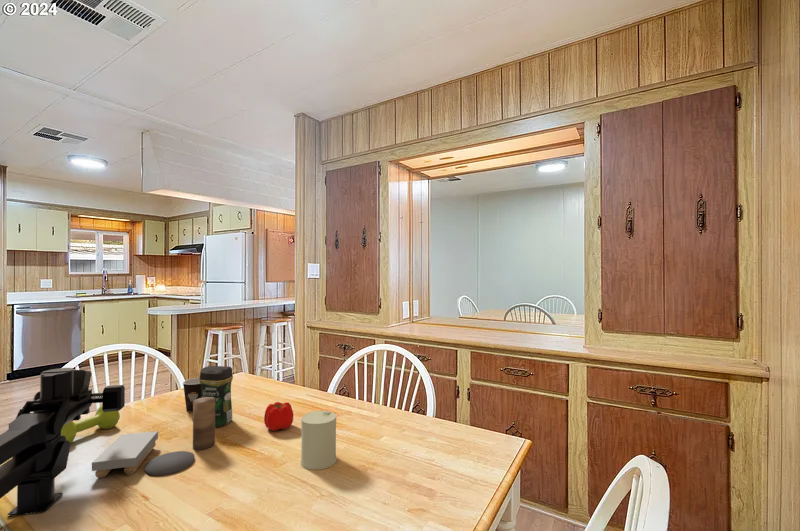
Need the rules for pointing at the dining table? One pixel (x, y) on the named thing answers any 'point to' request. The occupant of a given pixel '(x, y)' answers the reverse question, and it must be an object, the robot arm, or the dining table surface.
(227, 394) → the coffee jar
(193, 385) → the coffee mug
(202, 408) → the walnut roller
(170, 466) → the dark grey flat disc
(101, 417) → the dumbbell
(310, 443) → the can
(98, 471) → the grey slab
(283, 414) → the tomato
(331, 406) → the dining table surface
